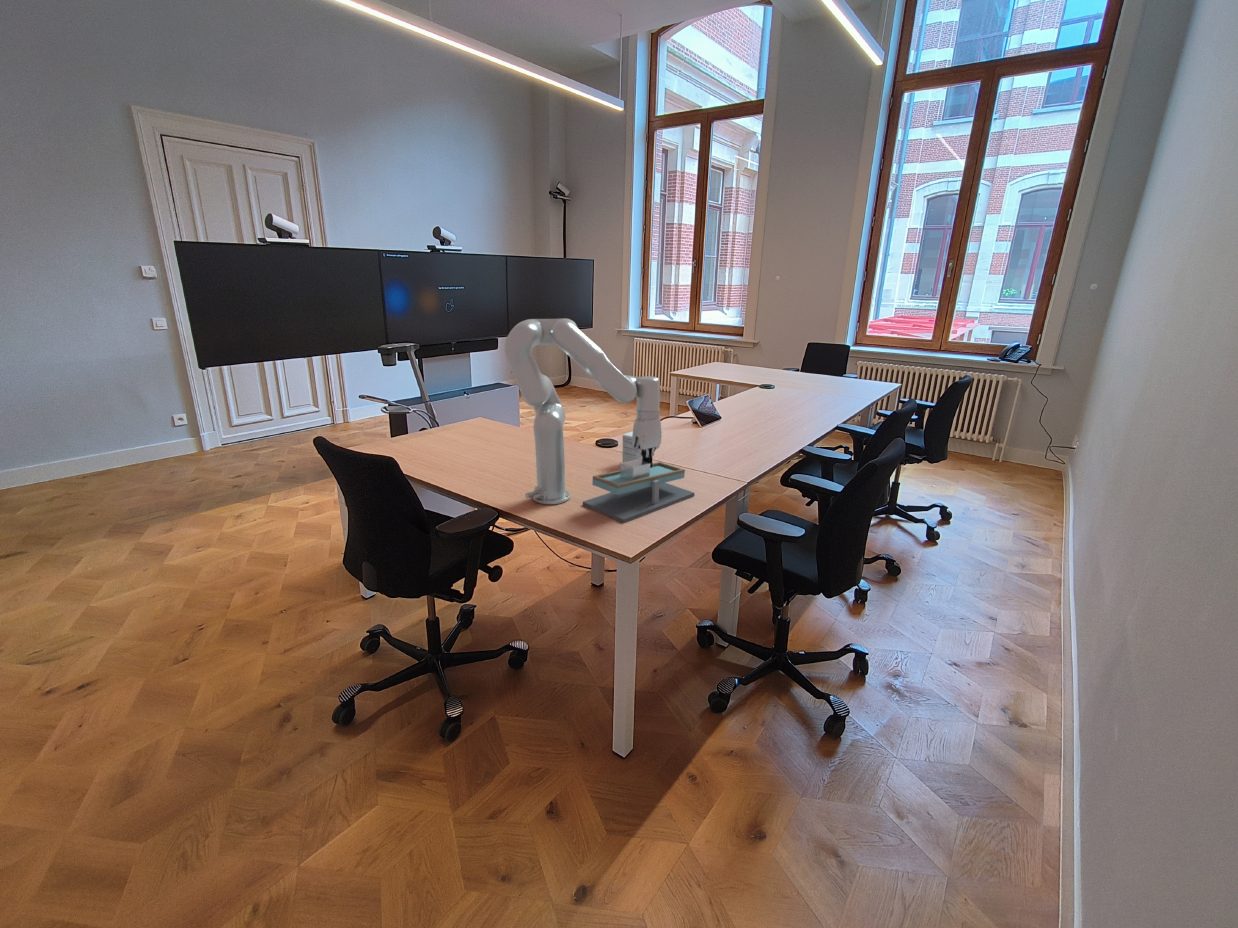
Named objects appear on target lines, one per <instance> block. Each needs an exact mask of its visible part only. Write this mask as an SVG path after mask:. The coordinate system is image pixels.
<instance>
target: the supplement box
mask: <svg viewBox="0 0 1238 928" xmlns="http://www.w3.org/2000/svg"><path fill="white" fill-rule="evenodd" d="M632 435H633V431H630V432H627V433H624V434H622V462H627V461H632V460H637V459H638V460H641V461H642V456H641V454H638V453H635V449H636V448H634V447H632ZM644 451H645V450H644Z"/></svg>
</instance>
